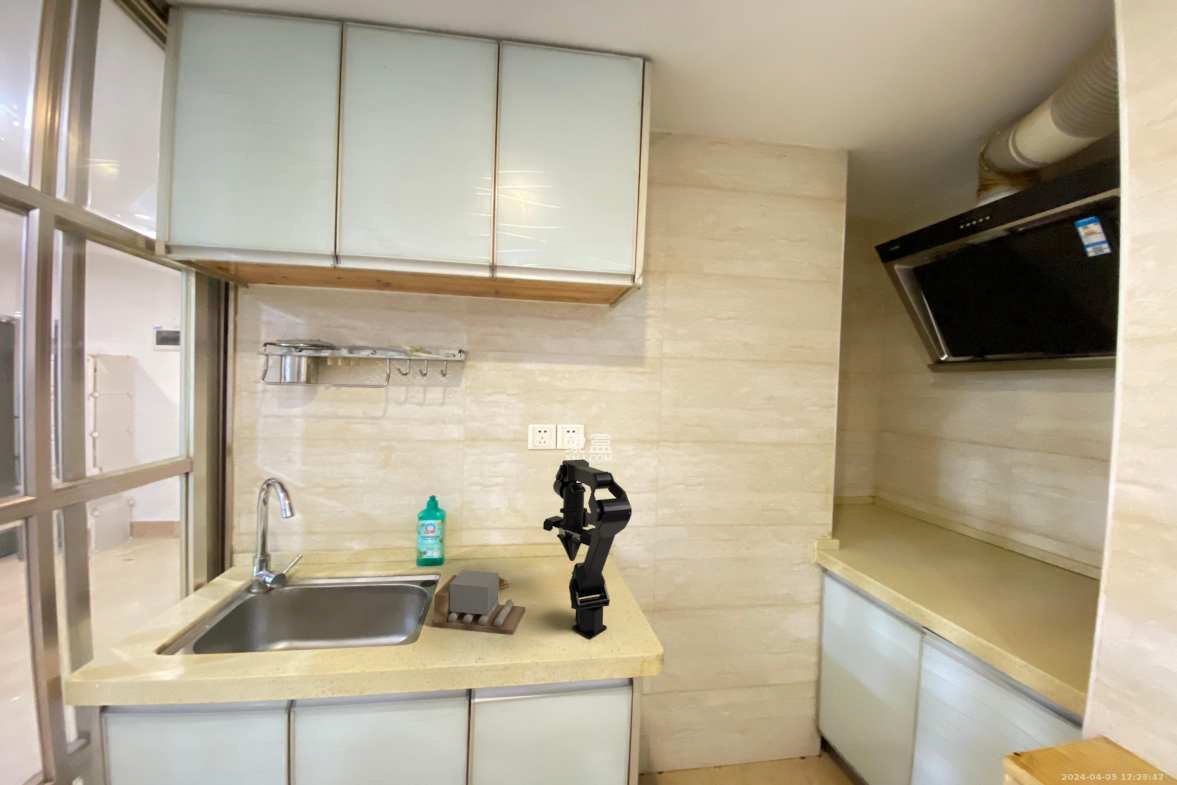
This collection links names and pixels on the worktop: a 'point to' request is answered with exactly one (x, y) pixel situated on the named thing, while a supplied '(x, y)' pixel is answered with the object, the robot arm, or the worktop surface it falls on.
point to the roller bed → (475, 615)
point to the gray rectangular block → (474, 592)
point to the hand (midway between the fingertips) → (572, 560)
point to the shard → (503, 583)
